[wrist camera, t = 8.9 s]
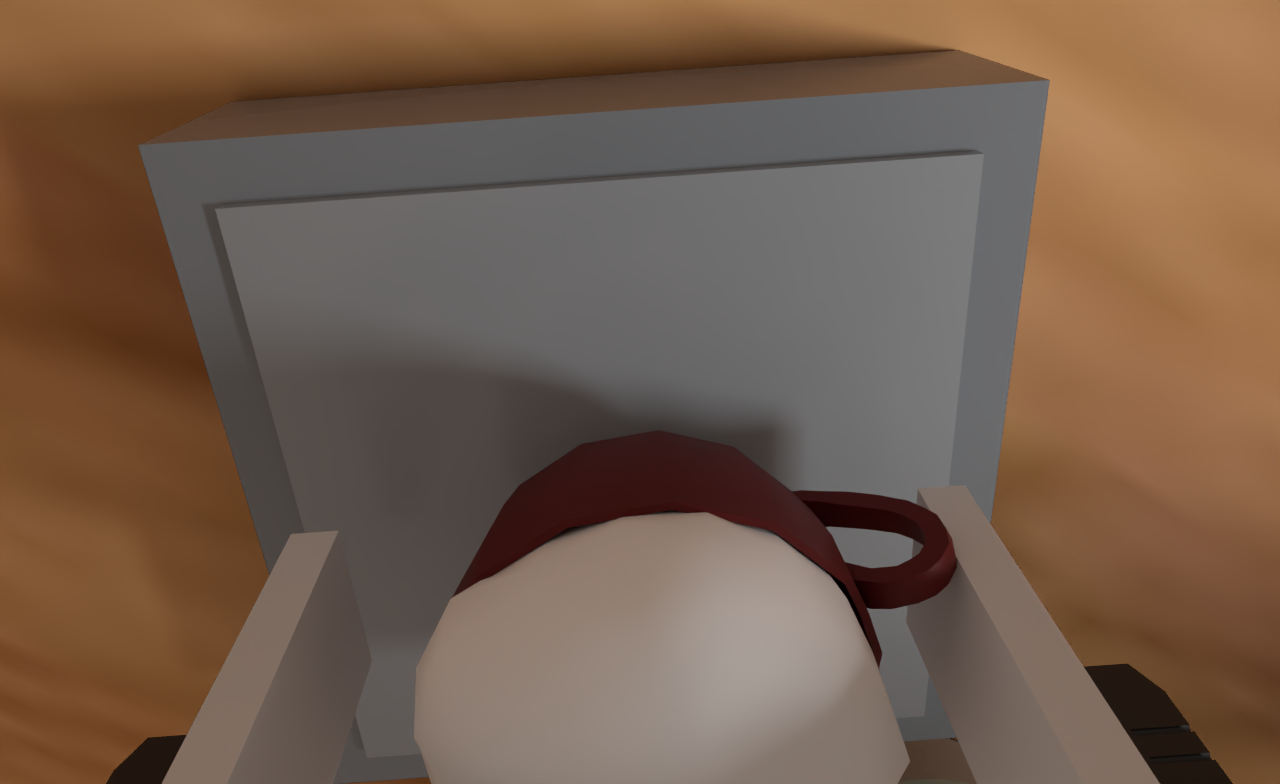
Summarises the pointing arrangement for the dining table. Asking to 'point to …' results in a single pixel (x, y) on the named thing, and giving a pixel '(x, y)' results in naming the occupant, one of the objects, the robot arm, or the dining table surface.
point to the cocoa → (671, 628)
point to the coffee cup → (936, 763)
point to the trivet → (601, 307)
